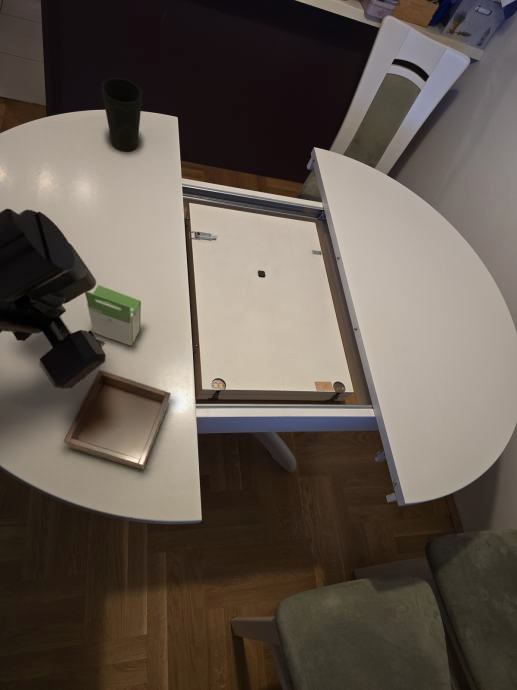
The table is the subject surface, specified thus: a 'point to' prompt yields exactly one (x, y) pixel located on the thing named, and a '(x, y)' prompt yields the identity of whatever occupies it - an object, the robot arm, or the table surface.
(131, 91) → the cup
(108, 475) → the table surface
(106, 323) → the ink box
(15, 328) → the robot arm
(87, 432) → the holder
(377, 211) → the table surface
